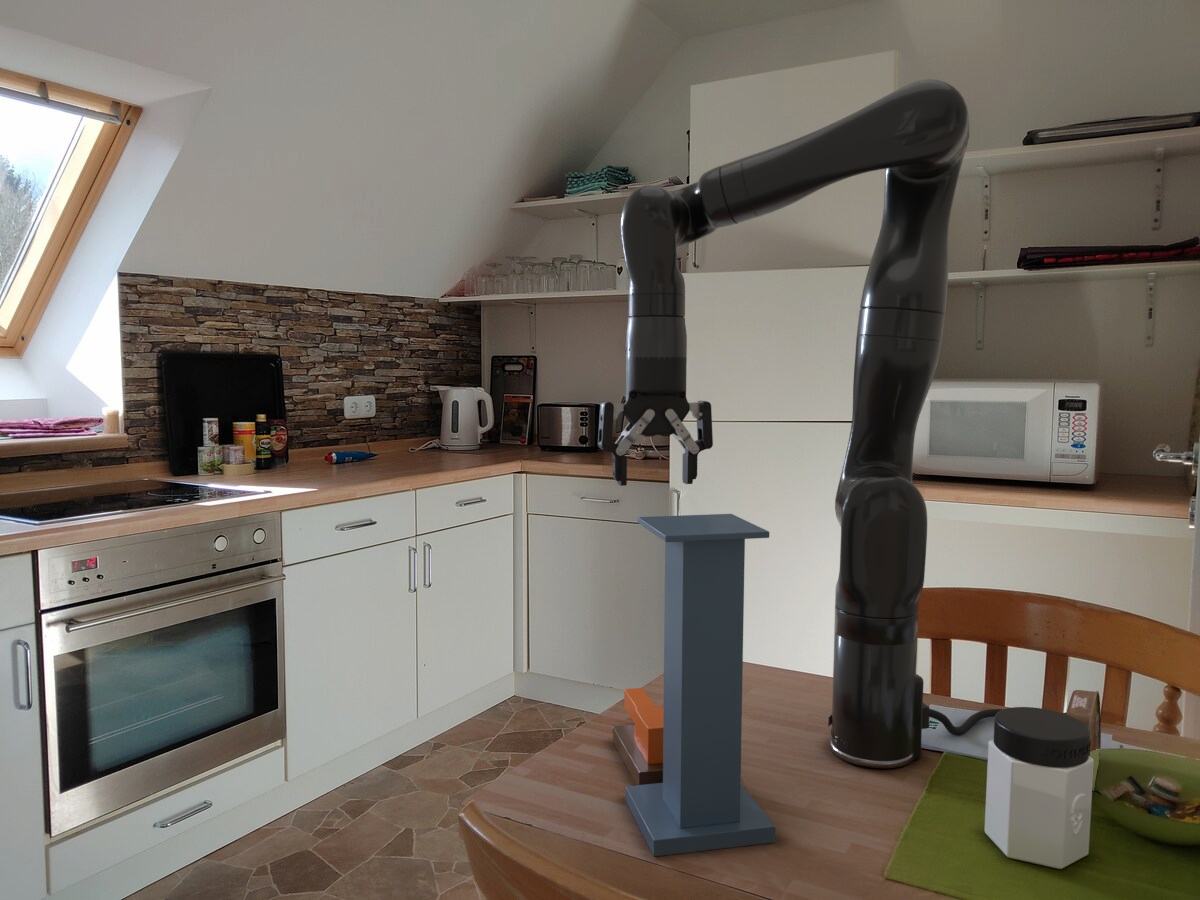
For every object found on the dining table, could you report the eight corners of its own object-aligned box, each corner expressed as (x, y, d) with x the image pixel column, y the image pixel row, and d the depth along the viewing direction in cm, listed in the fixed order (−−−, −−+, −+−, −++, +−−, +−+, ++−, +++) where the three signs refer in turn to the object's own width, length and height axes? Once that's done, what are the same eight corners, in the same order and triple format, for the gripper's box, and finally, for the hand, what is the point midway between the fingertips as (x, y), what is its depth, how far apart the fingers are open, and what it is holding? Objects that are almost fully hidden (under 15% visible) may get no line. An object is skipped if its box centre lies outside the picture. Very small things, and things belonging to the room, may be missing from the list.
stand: (734, 789, 99) (739, 512, 96) (775, 842, 88) (782, 532, 85) (625, 801, 96) (626, 516, 93) (653, 856, 85) (656, 537, 82)
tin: (1091, 805, 95) (1096, 726, 94) (1057, 797, 97) (1061, 720, 96) (1102, 752, 108) (1106, 682, 107) (1072, 746, 110) (1075, 677, 109)
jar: (1049, 879, 82) (1056, 749, 81) (968, 839, 88) (974, 718, 87) (1103, 850, 87) (1111, 726, 85) (1023, 814, 93) (1028, 699, 92)
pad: (684, 736, 112) (684, 720, 112) (719, 782, 100) (719, 764, 100) (612, 742, 111) (612, 726, 110) (639, 790, 98) (639, 772, 98)
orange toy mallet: (652, 704, 117) (652, 674, 117) (692, 760, 101) (692, 725, 101) (613, 708, 116) (614, 677, 116) (648, 764, 100) (648, 728, 100)
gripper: (606, 354, 109) (606, 490, 111) (721, 354, 112) (719, 486, 114) (593, 354, 116) (593, 481, 118) (701, 354, 119) (699, 478, 121)
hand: (655, 484), depth 116 cm, fingers open, 8 cm apart
